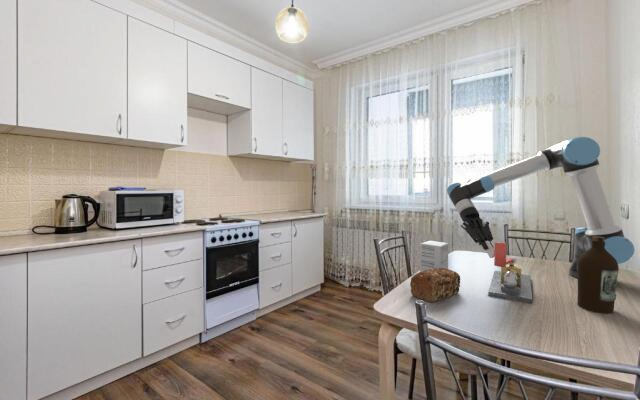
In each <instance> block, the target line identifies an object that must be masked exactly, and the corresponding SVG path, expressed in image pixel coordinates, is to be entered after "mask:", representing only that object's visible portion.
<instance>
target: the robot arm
mask: <svg viewBox="0 0 640 400" xmlns="http://www.w3.org/2000/svg"><path fill="white" fill-rule="evenodd" d="M600 154H601V147H600V145H599V143H598V142H597V141H596V140H595V139H593V138H591V137H586V136H577V137H575V136H574V137H572V138H569V139H566V140H563V141H559V142H557V143H556V144H554V145H551V146H549V147H548V148H545V149H543V150H541V151H538V152H537V154H536V155H534V156H532V157H528V158H525V159H523V160H520V161H517V162H515V163H512V164H509V165H507V166H505V167H502V168H499V169H496V170H494V171H492V172H489V173H486V174H483V175H480V176H478V177H475V178H471V179H469V180H468V181H467V182H466V183H464V184H461V183H460V182H453V183H451V184H450V185H449V186H447V189H446V192H447V195H448V197H449V199H450V200H451V202H452V204H453V207H454V208H455V210H456V211H457V213H458V215H459V217H460V219H461V220H462V224H461V225H460V227H461V228H462V229H463V230H465V232H466V233H467V234H468V235H469V236H470V238H471V239H472V241H474V243H475V244H478V245H479V246H481V247H482V249H483V250H484V251H486V254H487V255H488V257H489V259H493V258H494V256H495V246H493V244H492V241H493V240H494V237H493V233H492V231H491V228H490V222H489V221H484V220H483V219H482V218H481V217H480V213H479V211H478V209H477V208H476V206H475V205H474V203H473V201H472V199H475V198H476V197H479V196H481V195H483V194H486V193H489V192H491V191H493V190H495V188H496V187H499V186H502V185H505V184H508V183H510V182H513V181H516V180H518V179H522V178H524V177H527V176H531V175H533V174H536V173H539V172H541V171H551V170H554V169H558V168H562V170H563V173H564V174H566V175H568V176H570V179H571V182H572V185H573V188H574V191H575V194H576V197H577V199H578V202H579V206H580V209H581V211H582V214H583V217H584V220H585V223H586V227H577V228H575V232H574V250H573V254H574V255H573V260H572V262H571V264H570V266H569V268H568V275H569V276H571V277H574V278H577V279H578V275H577V261H578V258H579V256H580V255H581V254H583V253H584V252H586V251H587V250H588V249H590V248H591V247H592V240H593V238H592V237H593V236H598V237H604V238H605V240H604V241H605V249H606V250H607V251H608V252H609V253H610V254H611V255H612V256H613V257H614V258H615V259H616V261H617V263H618V265H621V264H623V263H626V262H628V261H629V260H630V259H631V258H632V257H633V256H634V253H635V245H634V243H633V242H632V241H631V240H630V239H628V238H626V237H625V234H624V232H623V228H622V227H620V226H618V225H616V223H615V220H614V218H613V216H612V212H611V210H610V206H609V203H608V201H607V198H606V194H605V192H604V188H603V186H602V183H601V181H600V177H599V175H598V172H597V169H598V168H599V166H600V162H599V159H598V158H599V156H600Z"/></svg>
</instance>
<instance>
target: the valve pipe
mask: <svg viewBox="0 0 640 400" xmlns="http://www.w3.org/2000/svg"><path fill="white" fill-rule="evenodd" d="M531 282H532V281H531V275H530V274H523V273H522V264H518V263H517V261H516V262H512V263H509V264H507V265H506V267H500V271H499V270H494V272H493V276H492V279H491V281H490V285H489V289H488V293H487V295H488V296H489V297H495V298H502V299H507V300H512V301H517V302H524V303H529V304H532V303H533V294H532V293H533V292H532V283H531Z"/></svg>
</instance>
